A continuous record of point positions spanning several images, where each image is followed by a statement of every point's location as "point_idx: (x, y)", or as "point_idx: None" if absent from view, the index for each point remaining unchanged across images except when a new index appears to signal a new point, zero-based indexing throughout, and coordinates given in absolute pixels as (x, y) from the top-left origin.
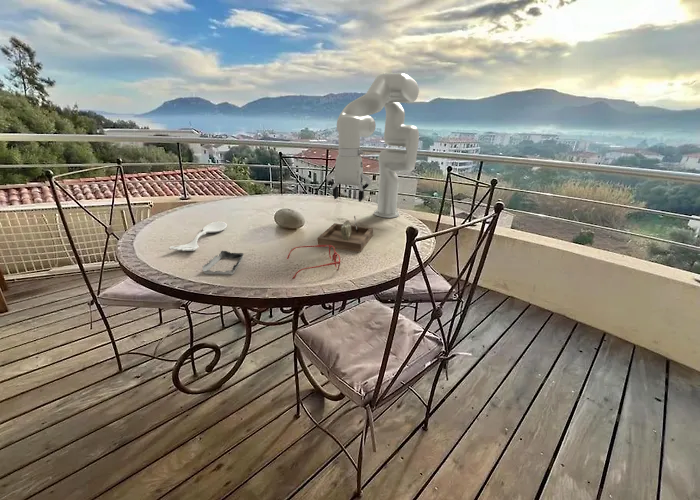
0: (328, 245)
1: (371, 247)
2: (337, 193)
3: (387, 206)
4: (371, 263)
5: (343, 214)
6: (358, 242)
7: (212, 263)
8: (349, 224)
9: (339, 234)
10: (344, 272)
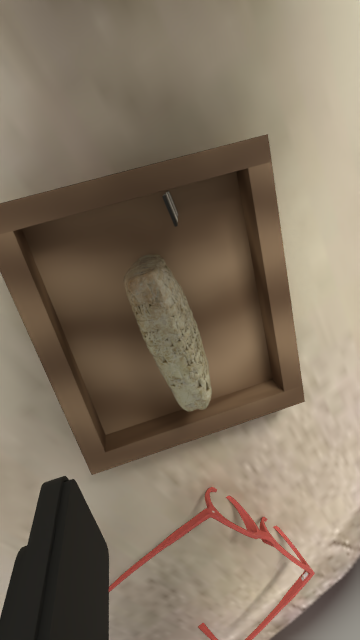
0: (207, 518)
1: (304, 310)
2: (81, 565)
3: None
4: (352, 432)
5: None
6: (287, 395)
7: None
8: (184, 317)
9: (104, 299)
10: (302, 524)
